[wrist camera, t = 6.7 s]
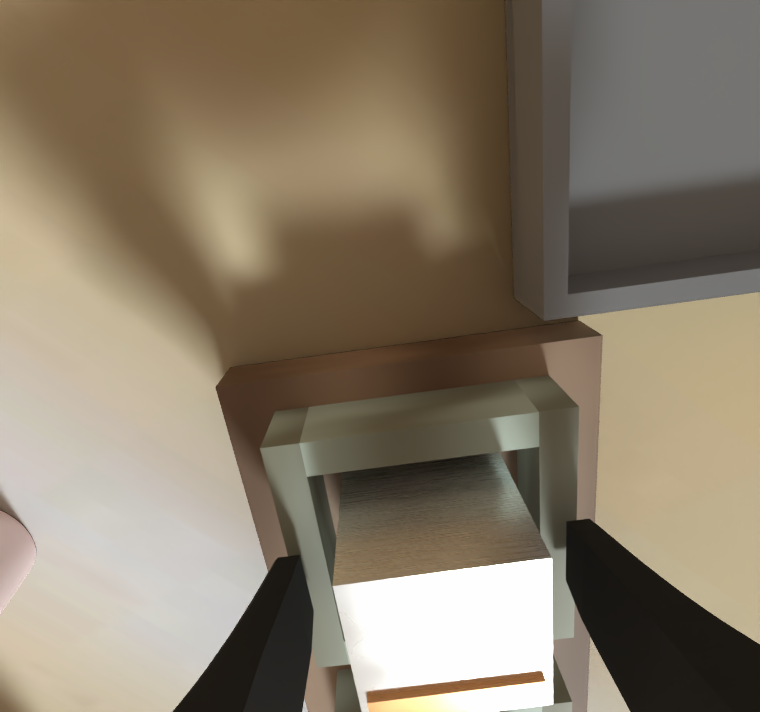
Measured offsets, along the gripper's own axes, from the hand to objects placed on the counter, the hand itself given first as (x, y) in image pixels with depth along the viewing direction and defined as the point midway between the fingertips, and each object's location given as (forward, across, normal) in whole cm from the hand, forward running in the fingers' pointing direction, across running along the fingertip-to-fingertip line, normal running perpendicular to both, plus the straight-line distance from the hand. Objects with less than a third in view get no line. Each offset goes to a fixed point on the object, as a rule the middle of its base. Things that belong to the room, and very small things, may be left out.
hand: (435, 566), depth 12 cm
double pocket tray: (+4, 0, +6) cm, 7 cm away
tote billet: (+2, 0, 0) cm, 3 cm away
